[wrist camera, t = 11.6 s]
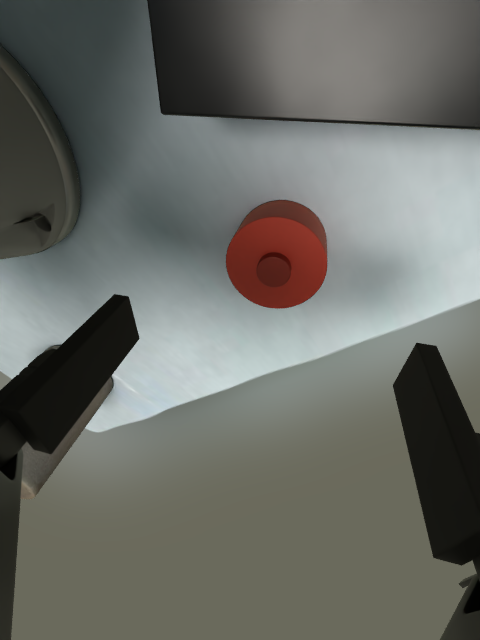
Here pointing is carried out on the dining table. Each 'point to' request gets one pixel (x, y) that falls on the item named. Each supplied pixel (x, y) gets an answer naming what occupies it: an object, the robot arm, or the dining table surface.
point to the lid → (278, 255)
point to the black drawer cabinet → (320, 60)
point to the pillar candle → (44, 464)
